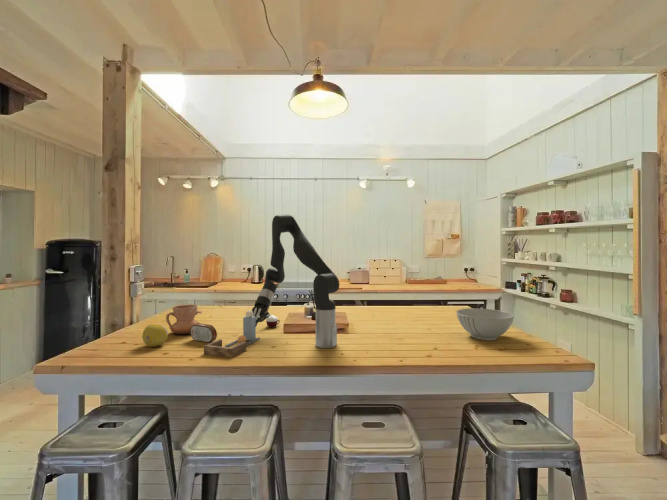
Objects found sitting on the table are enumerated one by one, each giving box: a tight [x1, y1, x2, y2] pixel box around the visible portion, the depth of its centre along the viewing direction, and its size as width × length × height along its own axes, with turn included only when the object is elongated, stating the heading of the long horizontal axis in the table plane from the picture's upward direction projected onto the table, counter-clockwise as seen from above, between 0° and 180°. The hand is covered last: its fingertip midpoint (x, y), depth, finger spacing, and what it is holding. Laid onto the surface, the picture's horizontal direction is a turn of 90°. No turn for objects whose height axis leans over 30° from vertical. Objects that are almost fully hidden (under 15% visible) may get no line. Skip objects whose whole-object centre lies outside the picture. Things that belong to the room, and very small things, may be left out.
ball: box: [237, 334, 247, 344], centre depth 165 cm, size 4×4×4 cm
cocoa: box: [265, 314, 281, 328], centre depth 198 cm, size 10×6×12 cm, turn 98°
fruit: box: [141, 323, 169, 348], centre depth 162 cm, size 10×11×10 cm
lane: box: [224, 336, 261, 348], centre depth 166 cm, size 8×17×1 cm, turn 161°
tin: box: [190, 322, 218, 344], centre depth 169 cm, size 15×3×8 cm, turn 65°
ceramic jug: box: [165, 303, 203, 335], centre depth 185 cm, size 18×14×14 cm
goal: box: [203, 339, 247, 358], centre depth 153 cm, size 14×10×4 cm
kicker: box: [242, 309, 257, 342], centre depth 171 cm, size 5×4×14 cm
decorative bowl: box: [455, 307, 515, 341], centre depth 178 cm, size 27×27×12 cm
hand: (251, 328), depth 173 cm, fingers closed
